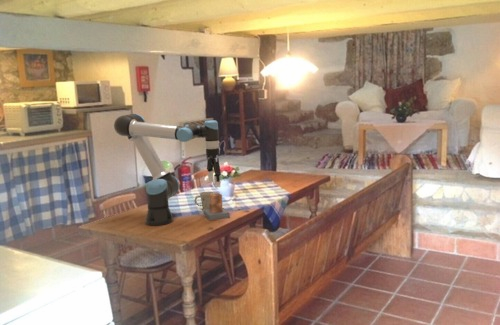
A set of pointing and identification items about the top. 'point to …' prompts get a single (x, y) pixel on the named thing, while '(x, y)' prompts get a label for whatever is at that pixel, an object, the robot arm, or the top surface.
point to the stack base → (216, 215)
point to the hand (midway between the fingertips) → (214, 184)
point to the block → (215, 202)
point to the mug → (204, 200)
